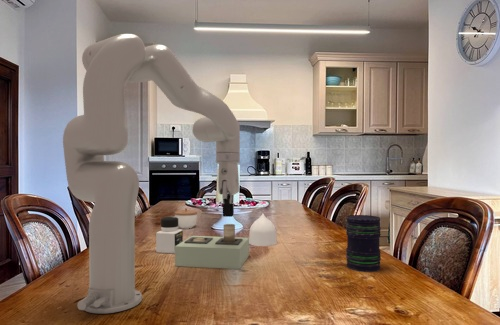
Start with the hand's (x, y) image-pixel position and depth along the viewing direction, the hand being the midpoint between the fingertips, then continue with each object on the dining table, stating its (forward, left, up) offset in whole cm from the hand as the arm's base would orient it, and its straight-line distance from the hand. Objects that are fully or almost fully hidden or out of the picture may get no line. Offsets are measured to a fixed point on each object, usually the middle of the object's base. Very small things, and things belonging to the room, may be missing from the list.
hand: (228, 216), depth 116 cm
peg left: (0, +10, -14) cm, 17 cm away
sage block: (0, +5, -14) cm, 15 cm away
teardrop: (+28, -7, -15) cm, 32 cm away
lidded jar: (+55, +34, -15) cm, 66 cm away
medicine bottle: (+10, +24, -15) cm, 29 cm away
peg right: (0, 0, -9) cm, 9 cm away
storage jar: (0, -41, -15) cm, 44 cm away
